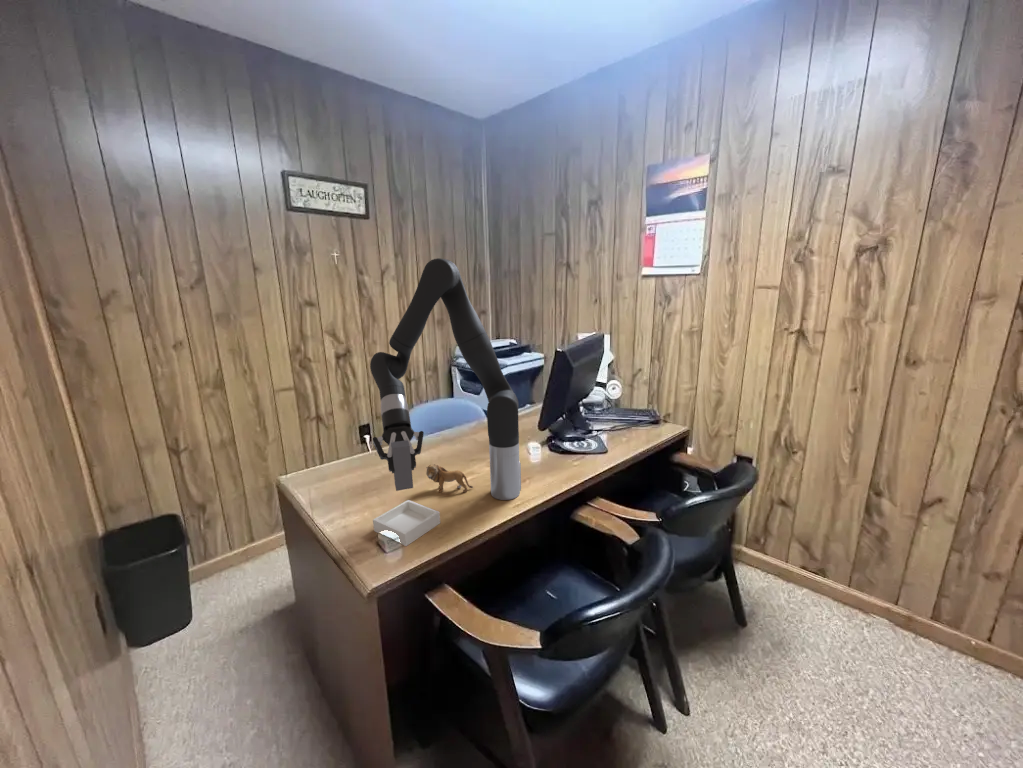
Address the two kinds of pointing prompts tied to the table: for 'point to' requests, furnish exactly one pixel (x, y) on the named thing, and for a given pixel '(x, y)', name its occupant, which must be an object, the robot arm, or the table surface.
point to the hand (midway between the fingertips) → (403, 470)
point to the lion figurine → (446, 476)
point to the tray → (407, 521)
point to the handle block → (402, 465)
